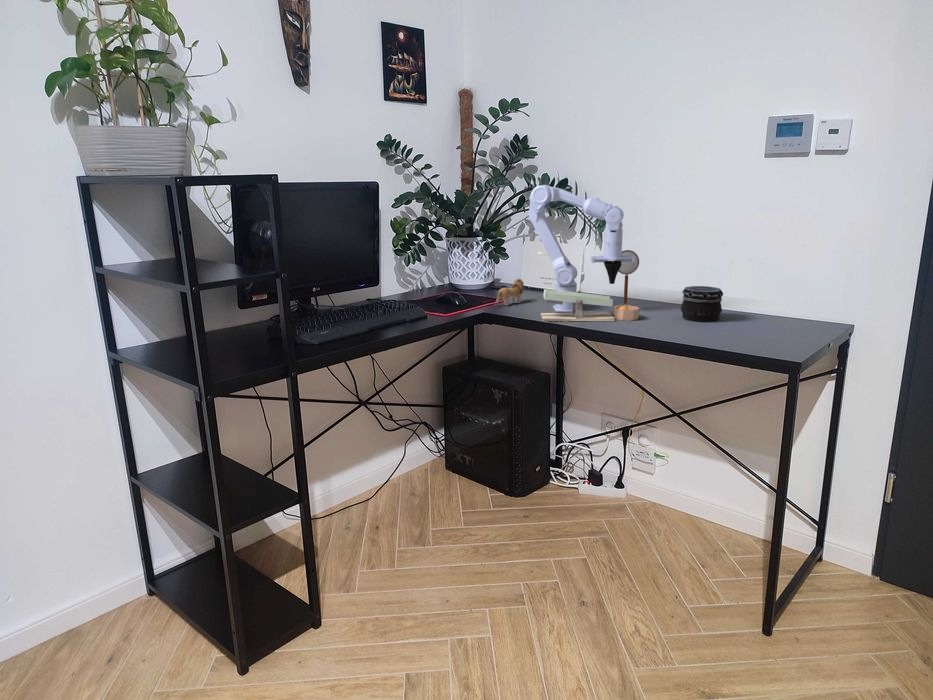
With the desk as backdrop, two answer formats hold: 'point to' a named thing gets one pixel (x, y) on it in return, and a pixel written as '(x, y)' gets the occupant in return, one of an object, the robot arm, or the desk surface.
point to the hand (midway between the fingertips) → (611, 283)
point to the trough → (576, 298)
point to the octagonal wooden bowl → (626, 313)
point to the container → (701, 303)
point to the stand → (577, 315)
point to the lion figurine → (511, 292)
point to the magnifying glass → (628, 269)
